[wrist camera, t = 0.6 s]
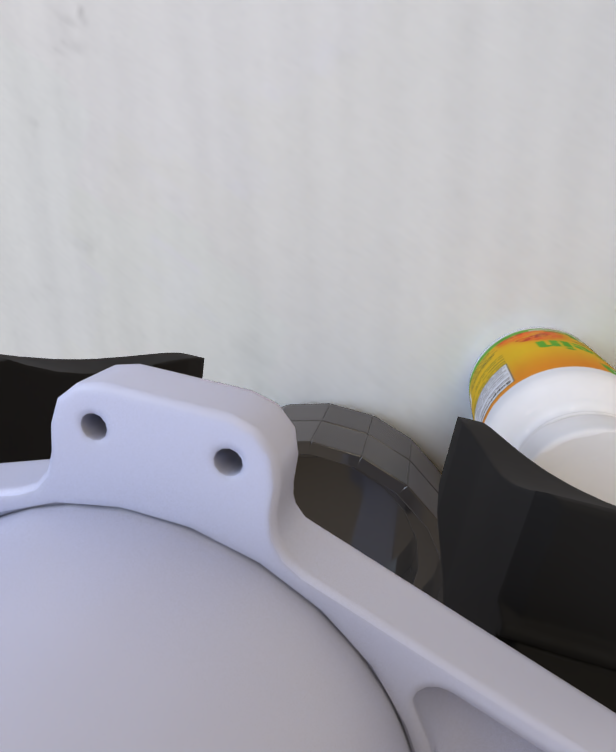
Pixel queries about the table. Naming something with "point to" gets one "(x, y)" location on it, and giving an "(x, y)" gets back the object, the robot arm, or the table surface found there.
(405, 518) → the bowl
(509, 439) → the supplement bottle
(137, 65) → the table surface
